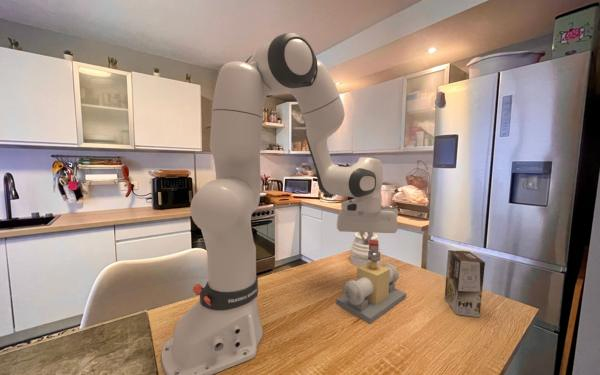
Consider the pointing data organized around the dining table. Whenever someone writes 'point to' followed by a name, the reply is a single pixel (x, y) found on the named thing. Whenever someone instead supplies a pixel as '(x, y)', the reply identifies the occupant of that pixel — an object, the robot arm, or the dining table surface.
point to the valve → (371, 291)
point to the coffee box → (464, 282)
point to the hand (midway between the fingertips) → (365, 244)
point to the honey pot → (361, 250)
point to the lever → (373, 251)
